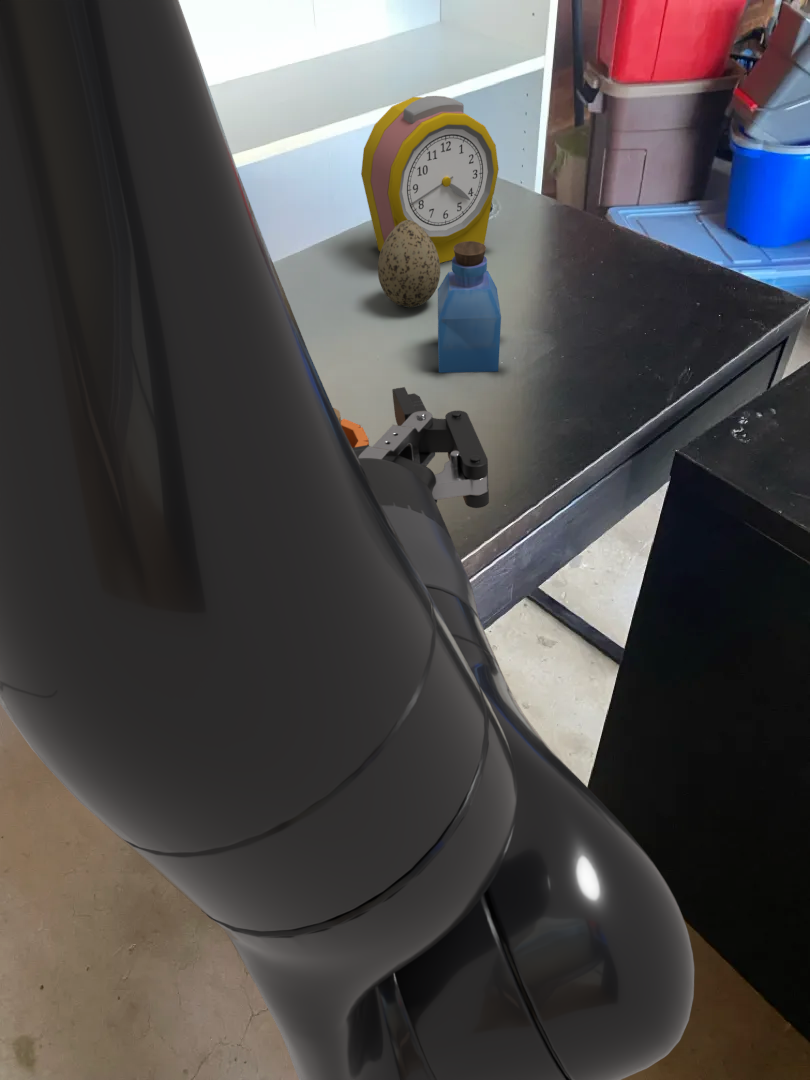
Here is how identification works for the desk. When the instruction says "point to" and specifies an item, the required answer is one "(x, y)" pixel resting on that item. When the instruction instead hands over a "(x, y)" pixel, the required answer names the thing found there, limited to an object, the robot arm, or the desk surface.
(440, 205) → the alarm clock
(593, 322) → the desk surface
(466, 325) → the perfume bottle
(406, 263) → the decorative egg
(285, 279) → the desk surface
